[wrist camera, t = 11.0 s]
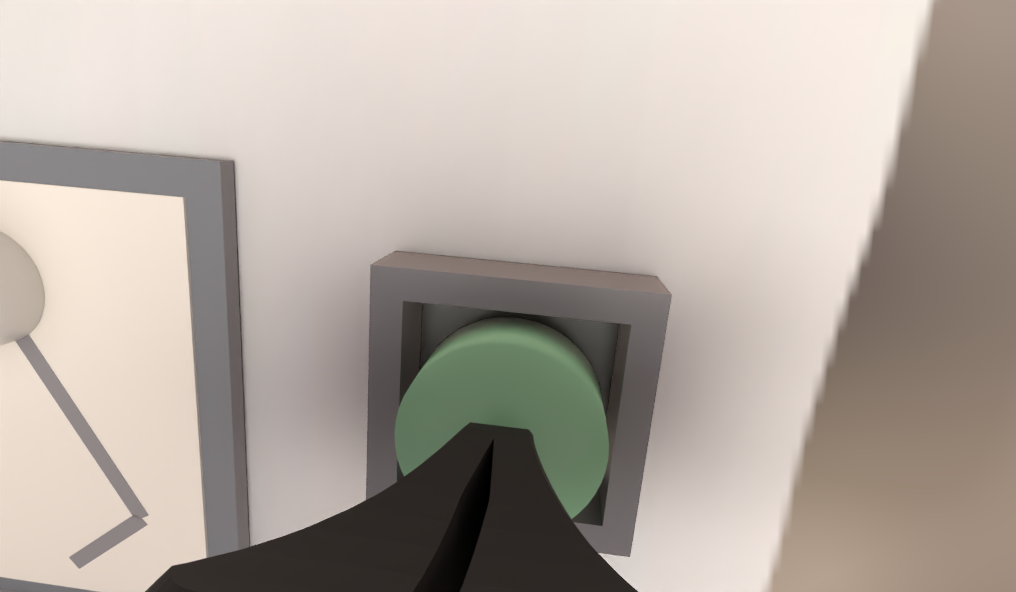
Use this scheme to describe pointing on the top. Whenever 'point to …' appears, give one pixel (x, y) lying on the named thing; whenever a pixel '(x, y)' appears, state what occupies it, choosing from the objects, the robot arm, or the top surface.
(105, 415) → the clipboard
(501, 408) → the button
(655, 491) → the top surface
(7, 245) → the marker
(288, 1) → the top surface
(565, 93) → the top surface
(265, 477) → the top surface
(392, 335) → the button housing
